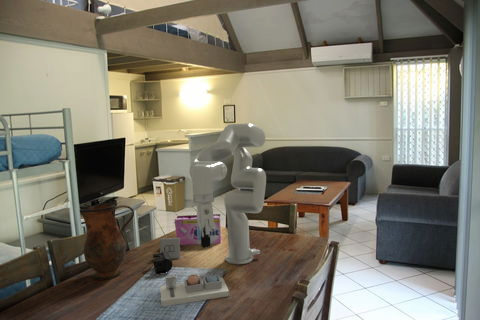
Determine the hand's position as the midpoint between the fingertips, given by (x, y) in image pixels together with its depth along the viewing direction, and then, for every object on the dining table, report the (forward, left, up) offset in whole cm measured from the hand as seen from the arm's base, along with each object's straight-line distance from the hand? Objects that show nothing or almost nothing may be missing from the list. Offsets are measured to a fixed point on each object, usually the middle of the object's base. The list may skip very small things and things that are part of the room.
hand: (205, 246), depth 142 cm
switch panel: (+6, +1, -17) cm, 18 cm away
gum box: (-5, -57, -17) cm, 60 cm away
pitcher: (+37, -28, -17) cm, 49 cm away
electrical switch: (+12, -40, -17) cm, 45 cm away
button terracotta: (+5, +1, -13) cm, 14 cm away
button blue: (-2, +1, -15) cm, 15 cm away
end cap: (+16, -26, -17) cm, 35 cm away
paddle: (+13, -2, -15) cm, 20 cm away
